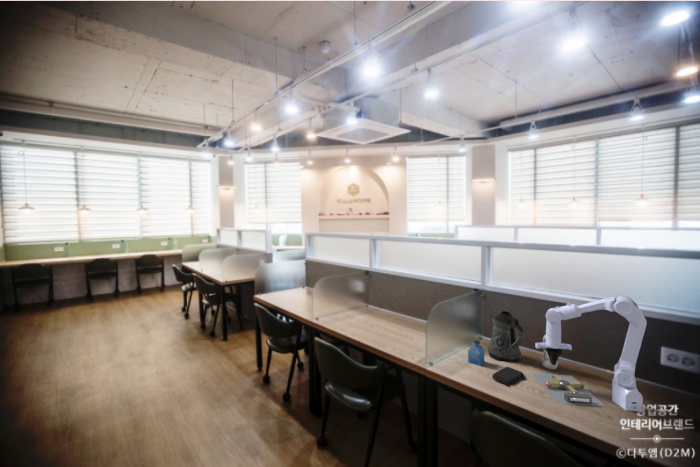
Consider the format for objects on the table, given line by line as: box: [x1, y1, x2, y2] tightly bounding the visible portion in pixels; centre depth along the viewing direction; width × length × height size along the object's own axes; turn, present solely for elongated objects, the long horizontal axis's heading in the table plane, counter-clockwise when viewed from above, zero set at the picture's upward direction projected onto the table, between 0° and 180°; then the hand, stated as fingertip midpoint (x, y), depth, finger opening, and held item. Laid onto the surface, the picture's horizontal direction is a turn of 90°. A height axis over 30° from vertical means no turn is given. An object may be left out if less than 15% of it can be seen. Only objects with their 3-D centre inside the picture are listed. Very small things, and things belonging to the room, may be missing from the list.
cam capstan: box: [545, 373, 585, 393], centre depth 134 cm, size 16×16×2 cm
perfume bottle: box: [467, 338, 485, 367], centre depth 160 cm, size 6×6×12 cm
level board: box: [531, 372, 606, 408], centre depth 134 cm, size 24×18×1 cm
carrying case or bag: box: [491, 366, 526, 387], centre depth 143 cm, size 11×3×15 cm
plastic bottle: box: [541, 334, 558, 370], centre depth 152 cm, size 6×7×20 cm
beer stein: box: [487, 310, 526, 363], centre depth 165 cm, size 16×19×25 cm
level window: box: [564, 392, 592, 404], centre depth 123 cm, size 3×9×3 cm, turn 81°
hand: (553, 363), depth 138 cm, fingers closed
